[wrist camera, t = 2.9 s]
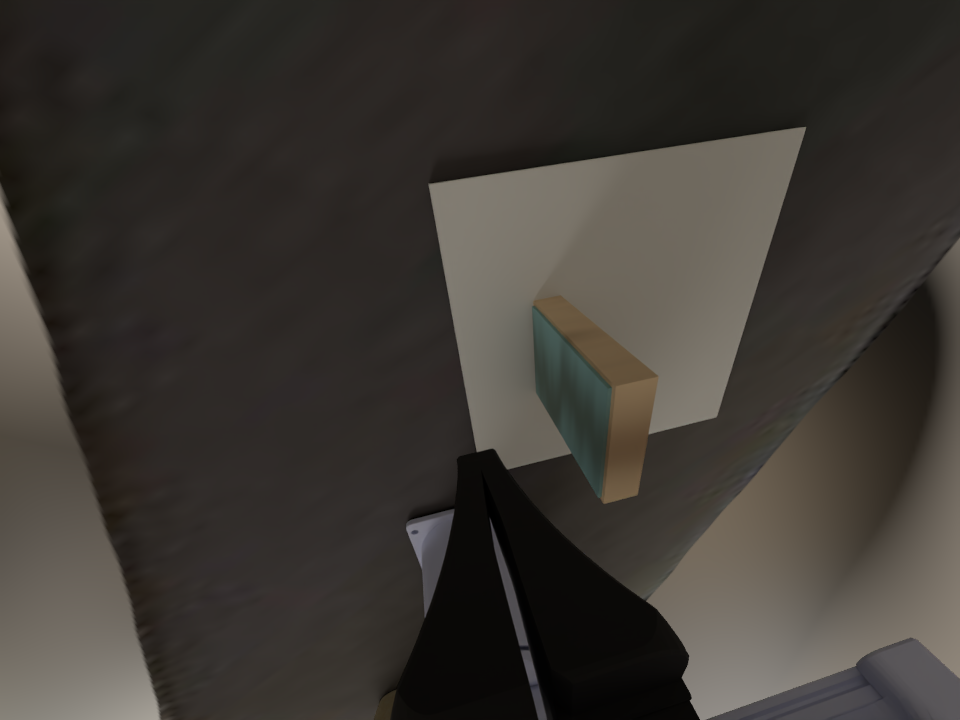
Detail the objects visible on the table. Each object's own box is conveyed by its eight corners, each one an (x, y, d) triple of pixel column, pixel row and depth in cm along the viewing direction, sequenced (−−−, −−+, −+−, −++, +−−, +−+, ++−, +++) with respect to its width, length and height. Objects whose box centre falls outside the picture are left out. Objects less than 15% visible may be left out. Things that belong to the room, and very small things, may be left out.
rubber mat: (711, 413, 26) (716, 417, 25) (480, 470, 24) (481, 475, 24) (795, 128, 17) (806, 126, 16) (428, 183, 15) (429, 184, 14)
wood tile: (560, 387, 21) (637, 494, 14) (534, 393, 21) (600, 505, 14) (560, 295, 18) (658, 376, 11) (530, 301, 18) (611, 387, 11)
